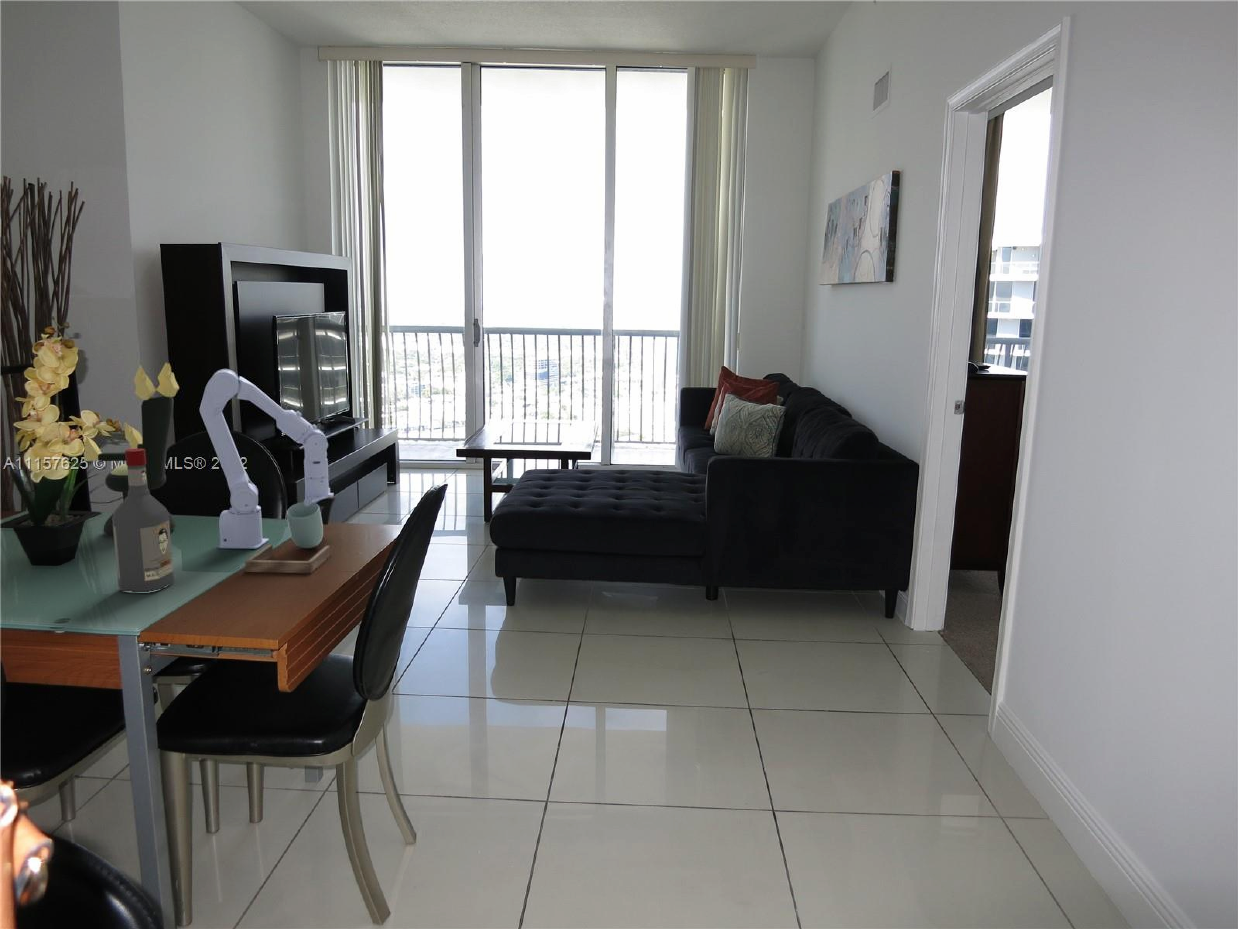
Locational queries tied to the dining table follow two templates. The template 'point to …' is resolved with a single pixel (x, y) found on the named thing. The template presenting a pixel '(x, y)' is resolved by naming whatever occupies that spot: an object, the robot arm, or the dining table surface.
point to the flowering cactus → (143, 437)
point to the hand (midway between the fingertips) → (318, 528)
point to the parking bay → (284, 562)
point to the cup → (305, 524)
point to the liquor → (141, 533)
